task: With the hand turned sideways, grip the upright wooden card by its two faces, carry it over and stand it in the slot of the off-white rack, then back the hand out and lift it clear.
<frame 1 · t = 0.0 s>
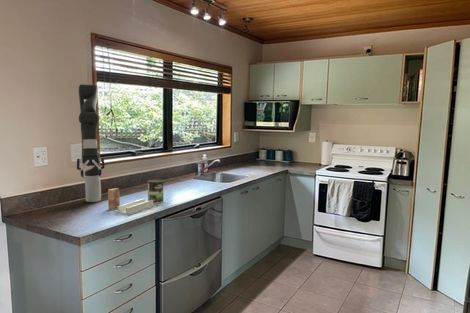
hand: (91, 176, 191), 22 cm above the worktop, tool pointing down, fingers open, 8 cm apart
coffee can: (155, 201, 227), on the worktop
wooden card: (114, 208, 210), on the worktop
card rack: (136, 209, 208), on the worktop
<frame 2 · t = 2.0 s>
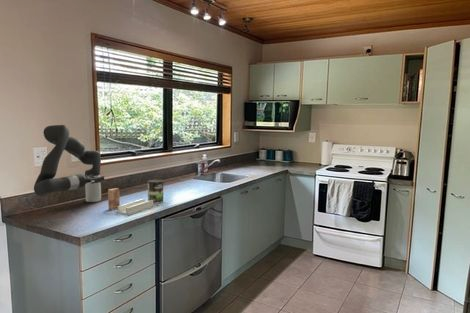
hand: (98, 177, 197), 21 cm above the worktop, tool horizontal, fingers open, 8 cm apart
nothing on the worktop moved.
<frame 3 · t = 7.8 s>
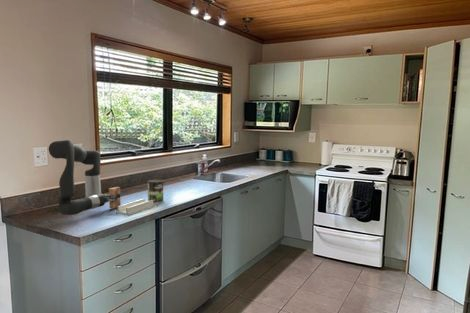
hand: (117, 195, 211), 8 cm above the worktop, tool horizontal, fingers closed on wooden card, 3 cm apart
wooden card: (115, 207, 210), point 1 cm above the worktop, touching gripper
everything else where it was.
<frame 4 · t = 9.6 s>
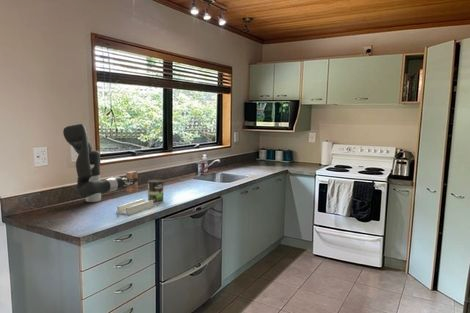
hand: (134, 179, 208), 18 cm above the worktop, tool horizontal, fingers closed on wooden card, 3 cm apart
wooden card: (132, 191, 207), point 11 cm above the worktop, touching gripper
everything else where it was.
when the fingers open (9 cm above the worktop, at t = 11.8 s): wooden card drops 1 cm, resting on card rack.
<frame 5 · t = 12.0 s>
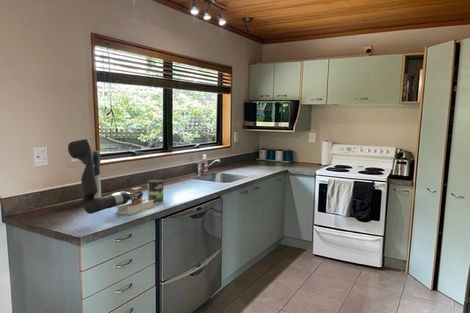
hand: (138, 193, 209), 10 cm above the worktop, tool horizontal, fingers open, 5 cm apart
wooden card: (136, 207, 208), point 1 cm above the worktop, touching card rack
everything else where it was.
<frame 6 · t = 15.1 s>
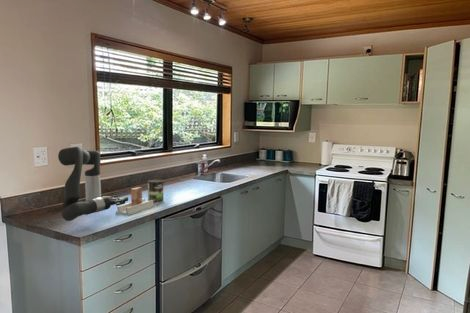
hand: (122, 197, 197), 10 cm above the worktop, tool horizontal, fingers open, 8 cm apart
nothing on the worktop moved.
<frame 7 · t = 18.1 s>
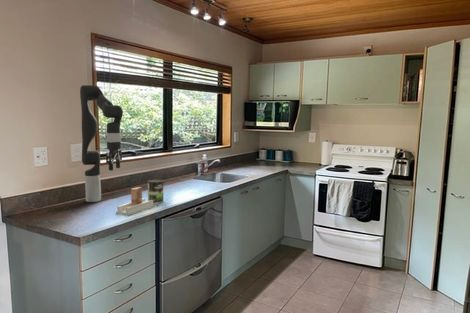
hand: (114, 169, 196), 26 cm above the worktop, tool pointing down, fingers open, 8 cm apart
nothing on the worktop moved.
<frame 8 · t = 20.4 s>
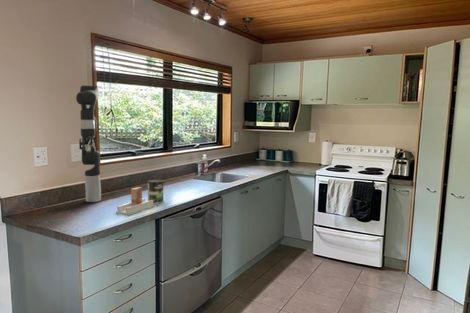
hand: (88, 155, 198), 33 cm above the worktop, tool pointing down, fingers open, 8 cm apart
nothing on the worktop moved.
at the end: wooden card 0.7 cm from the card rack (horizontally); wooden card point 1.0 cm above the worktop; wooden card tilted 0° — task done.
